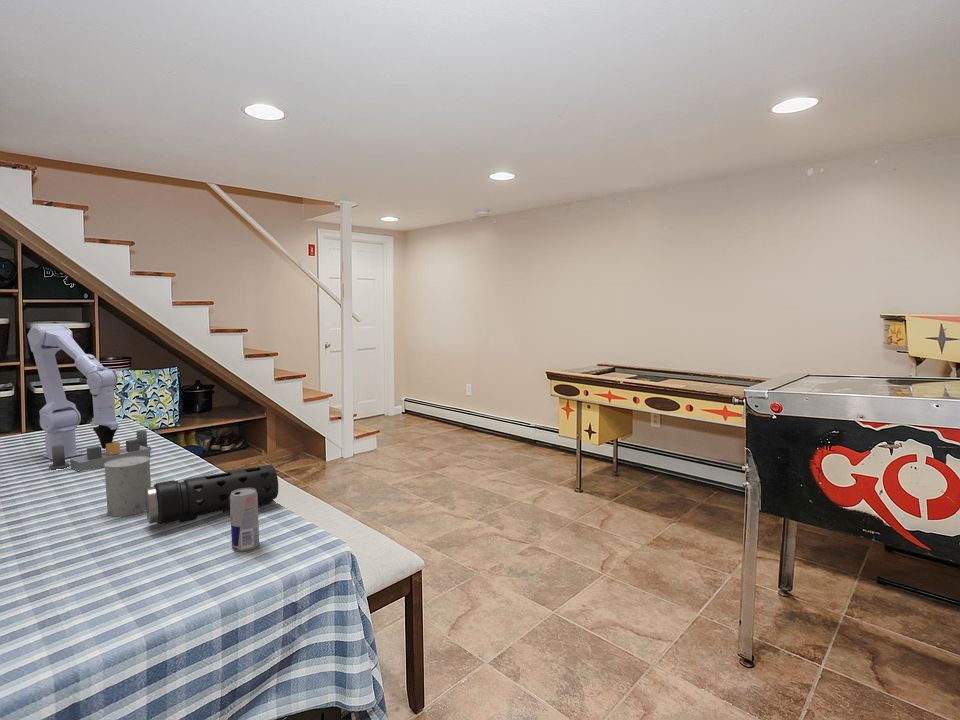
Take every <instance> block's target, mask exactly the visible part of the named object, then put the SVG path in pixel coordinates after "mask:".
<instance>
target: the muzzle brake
mask: <svg viewBox="0 0 960 720" xmlns="http://www.w3.org/2000/svg"><path fill="white" fill-rule="evenodd" d="M241 488H254V489H256V492H257V494H258V506H261V504H262V505H267V504H271V503H273V501H274V500H276V499H277V497H278V495H279V479H278V473H277V470H276V468H275V466H274V465H273V464H266V465H261V466H255V467H249V468H242V469H237V470H231V471H226V472H220V473H213V474H209V475H203V476H197V477H191V478H186V479H184V480H183V481H181V482H179V481H178V480H175V479H173V480H167V481H161V482H156V483H154V484H153V486H151V487H148V488H146V489H145V505H146V511H145V513H146V518H147V519H146V520H147V522H148V525H152V524H155V523H156V524H157V525H165V524H170V523H173V522H179V523H180V524H182V523H186V522H190V521H192V522H193V521H196V520H197V518H198V517H200V516H204V515H205V516H206V515H210V514H214V513H218V512H221V513H223V514H224V513H227V512H228V511H229V512H230V495H231V492H232V491H234V490H237V489H241ZM270 502H271V503H270Z"/></svg>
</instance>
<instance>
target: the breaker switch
mask: <svg viewBox="0 0 960 720" xmlns="http://www.w3.org/2000/svg"><path fill="white" fill-rule="evenodd" d="M120 444H121V443H120V442H119V441H112V443H107V444H106V449H105V452H106V454H107V455H114V454H119V453H120V449H121V445H120Z"/></svg>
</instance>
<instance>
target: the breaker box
mask: <svg viewBox="0 0 960 720" xmlns="http://www.w3.org/2000/svg"><path fill="white" fill-rule="evenodd" d="M147 447H148V446H147ZM147 447H144V446H141V445H140V443H139V439H137V438H134V439H130V440H129V439H128V440H125V447H124V448H120V453H119V454H114V455H107V454H106V451H104V452H103V451H102V446H101V445H97V446H91V447H87V448H86V455H84V456H80V457H79V456H77V457H74V458H70V469H71V468H74V469H76V470H79V471H83V470H88V469H93V468H98V467H103V466H104V463H105V462H107V461H110V460H113V459H117V458H122V457H128V456H147V457H149V458H151V451H150V448H147ZM103 468H104V467H103ZM74 469H73V470H74ZM98 469H99V468H98ZM76 470H75V471H76ZM93 470H94V469H93Z"/></svg>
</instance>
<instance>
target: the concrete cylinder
mask: <svg viewBox="0 0 960 720" xmlns="http://www.w3.org/2000/svg"><path fill="white" fill-rule="evenodd" d="M150 460H151V457H147V456H128V457H122V458H117V459H113V460H110V461H107V462H105V463H104V467H103V468H104V479H105V493H106V495H105V496H106V507H107V508H106V509H107V510H106V513H107V515H108V516H112V517H126V516H133V515H136V514H140V513H143V512H146V505H145V489H146V488H148V487H152V483H151V482H152V480H151V479H152V478H151V466H150V465H151V464H150V463H151V462H150Z"/></svg>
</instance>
